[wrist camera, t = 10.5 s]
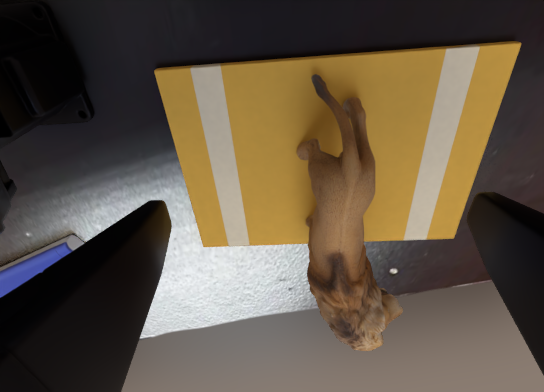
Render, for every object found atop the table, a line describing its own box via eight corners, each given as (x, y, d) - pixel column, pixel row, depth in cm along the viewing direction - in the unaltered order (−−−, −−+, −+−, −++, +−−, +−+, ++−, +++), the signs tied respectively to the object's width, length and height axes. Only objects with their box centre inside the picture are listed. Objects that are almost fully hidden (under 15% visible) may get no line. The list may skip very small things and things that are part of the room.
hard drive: (41, 334, 33) (132, 303, 29) (-34, 288, 28) (62, 245, 25) (50, 321, 34) (138, 289, 30) (-20, 275, 30) (72, 232, 26)
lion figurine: (377, 247, 25) (416, 359, 18) (312, 258, 26) (324, 368, 19) (358, 59, 17) (414, 124, 10) (265, 84, 18) (252, 160, 11)
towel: (204, 242, 26) (203, 247, 26) (156, 68, 18) (153, 70, 18) (450, 233, 25) (454, 238, 25) (515, 40, 17) (522, 42, 16)
